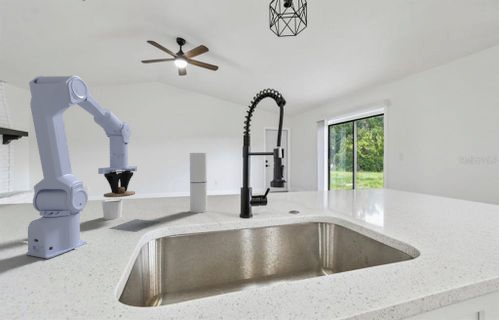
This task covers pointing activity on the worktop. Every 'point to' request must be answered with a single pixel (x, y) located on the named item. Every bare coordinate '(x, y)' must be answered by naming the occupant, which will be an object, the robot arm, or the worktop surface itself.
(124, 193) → the walnut lid
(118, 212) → the white cup
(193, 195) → the cylindrical container
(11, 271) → the worktop surface
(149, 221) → the rubber mat
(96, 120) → the robot arm
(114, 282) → the worktop surface
